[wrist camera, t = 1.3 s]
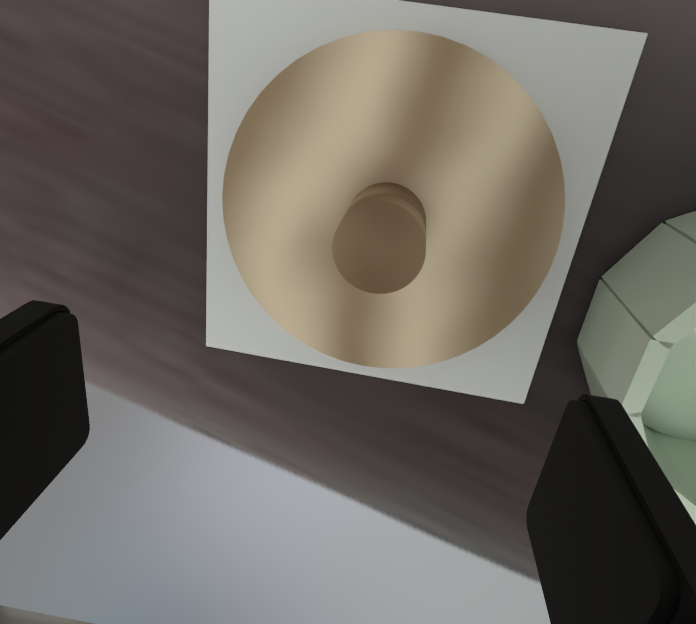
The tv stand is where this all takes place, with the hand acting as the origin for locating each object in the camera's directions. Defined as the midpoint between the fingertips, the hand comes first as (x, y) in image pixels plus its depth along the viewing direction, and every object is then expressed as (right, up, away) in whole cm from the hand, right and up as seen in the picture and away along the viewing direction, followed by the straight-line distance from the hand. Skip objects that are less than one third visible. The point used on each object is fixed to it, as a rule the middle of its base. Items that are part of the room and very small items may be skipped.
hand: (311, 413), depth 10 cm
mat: (+3, +6, +14) cm, 16 cm away
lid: (+3, +6, +14) cm, 15 cm away
